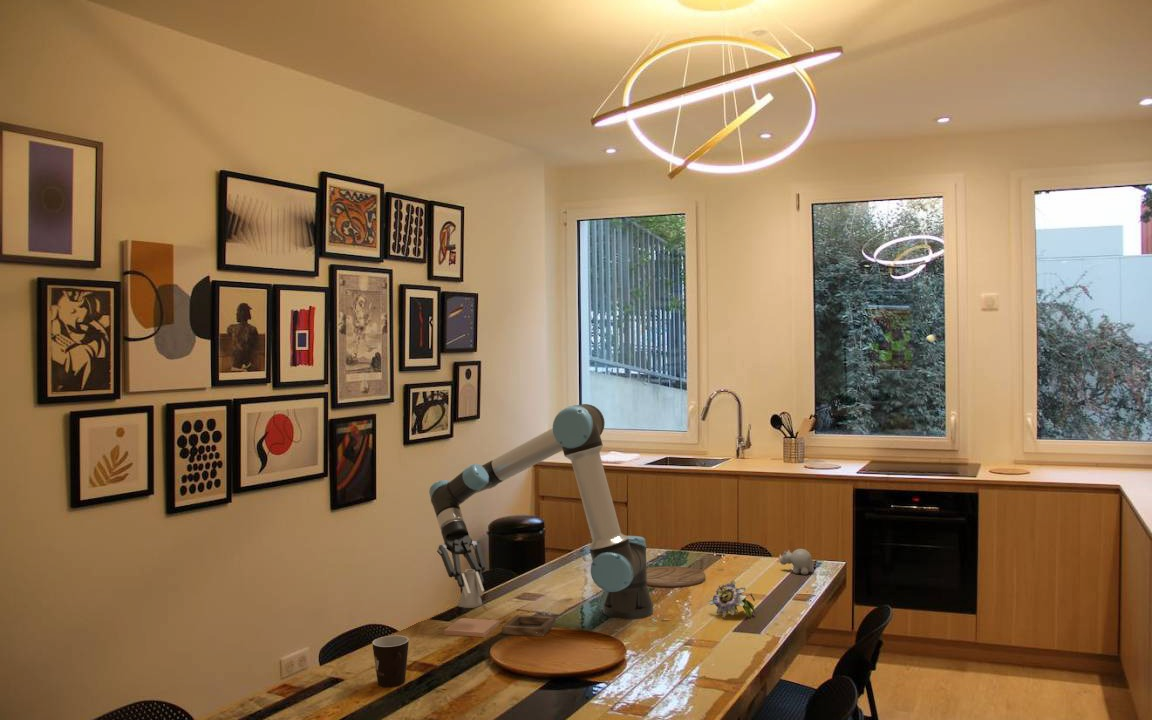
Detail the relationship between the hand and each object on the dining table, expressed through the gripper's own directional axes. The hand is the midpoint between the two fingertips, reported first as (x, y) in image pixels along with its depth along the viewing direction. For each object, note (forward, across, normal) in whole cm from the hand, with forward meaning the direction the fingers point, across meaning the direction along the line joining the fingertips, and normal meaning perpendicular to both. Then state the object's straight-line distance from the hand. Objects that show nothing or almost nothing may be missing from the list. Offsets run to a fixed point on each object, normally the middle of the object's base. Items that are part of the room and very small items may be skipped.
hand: (475, 594), depth 250 cm
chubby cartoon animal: (+5, -123, -10) cm, 124 cm away
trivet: (-6, -81, -22) cm, 84 cm away
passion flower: (+26, -72, +10) cm, 77 cm away
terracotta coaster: (+5, 0, -10) cm, 11 cm away
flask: (0, 0, -6) cm, 6 cm away
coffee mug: (+27, +33, +11) cm, 44 cm away
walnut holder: (+11, -14, -4) cm, 19 cm away
